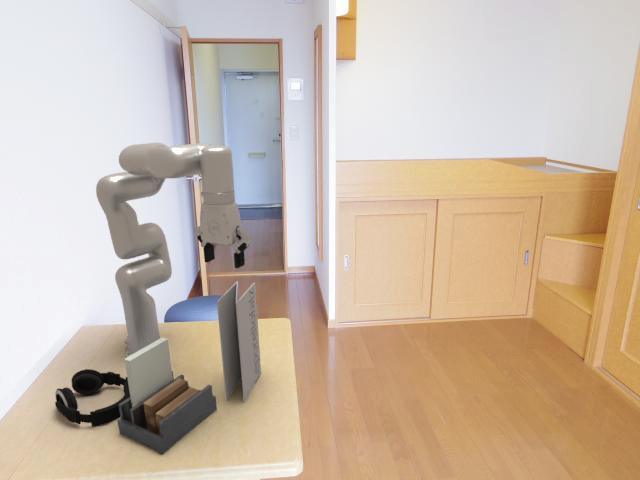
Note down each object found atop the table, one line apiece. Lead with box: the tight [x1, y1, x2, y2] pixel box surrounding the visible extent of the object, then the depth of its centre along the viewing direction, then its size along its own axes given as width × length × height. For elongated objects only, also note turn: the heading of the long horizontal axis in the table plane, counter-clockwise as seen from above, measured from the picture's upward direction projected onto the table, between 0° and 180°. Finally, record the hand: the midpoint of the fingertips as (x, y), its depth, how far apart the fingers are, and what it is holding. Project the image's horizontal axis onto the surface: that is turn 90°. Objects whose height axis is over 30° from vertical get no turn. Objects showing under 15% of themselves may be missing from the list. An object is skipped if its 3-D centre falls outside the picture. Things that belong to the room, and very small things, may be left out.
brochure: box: [216, 280, 262, 404], centre depth 131 cm, size 14×6×30 cm, turn 168°
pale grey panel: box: [123, 337, 174, 408], centre depth 121 cm, size 2×12×20 cm, turn 150°
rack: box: [116, 370, 218, 455], centre depth 120 cm, size 15×19×8 cm
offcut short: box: [155, 386, 201, 436], centre depth 118 cm, size 3×12×8 cm, turn 151°
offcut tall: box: [143, 378, 189, 436], centre depth 120 cm, size 3×12×9 cm, turn 151°
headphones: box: [54, 369, 130, 427], centre depth 127 cm, size 18×8×20 cm
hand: (224, 263), depth 118 cm, fingers open, 9 cm apart
